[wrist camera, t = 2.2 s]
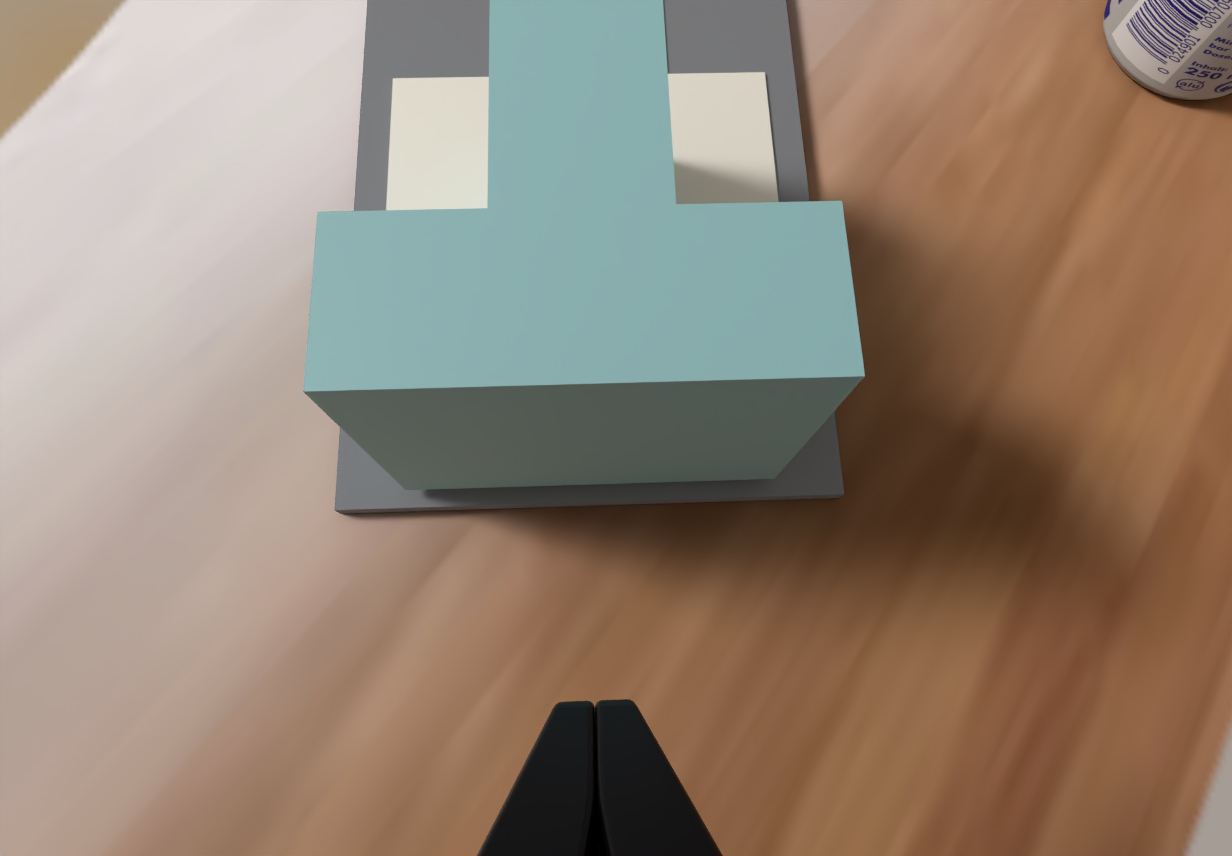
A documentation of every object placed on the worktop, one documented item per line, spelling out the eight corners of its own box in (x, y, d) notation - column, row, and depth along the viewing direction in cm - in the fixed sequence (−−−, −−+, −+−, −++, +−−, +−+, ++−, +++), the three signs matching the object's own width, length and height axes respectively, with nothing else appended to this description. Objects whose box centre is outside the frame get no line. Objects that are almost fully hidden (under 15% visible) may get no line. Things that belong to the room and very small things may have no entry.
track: (839, 498, 23) (880, 467, 20) (340, 513, 23) (295, 485, 19) (769, -102, 30) (791, -201, 26) (378, -97, 29) (349, -198, 26)
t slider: (774, 478, 22) (864, 376, 15) (405, 490, 22) (303, 391, 14) (743, 146, 25) (804, -82, 18) (418, 152, 25) (340, -77, 18)
